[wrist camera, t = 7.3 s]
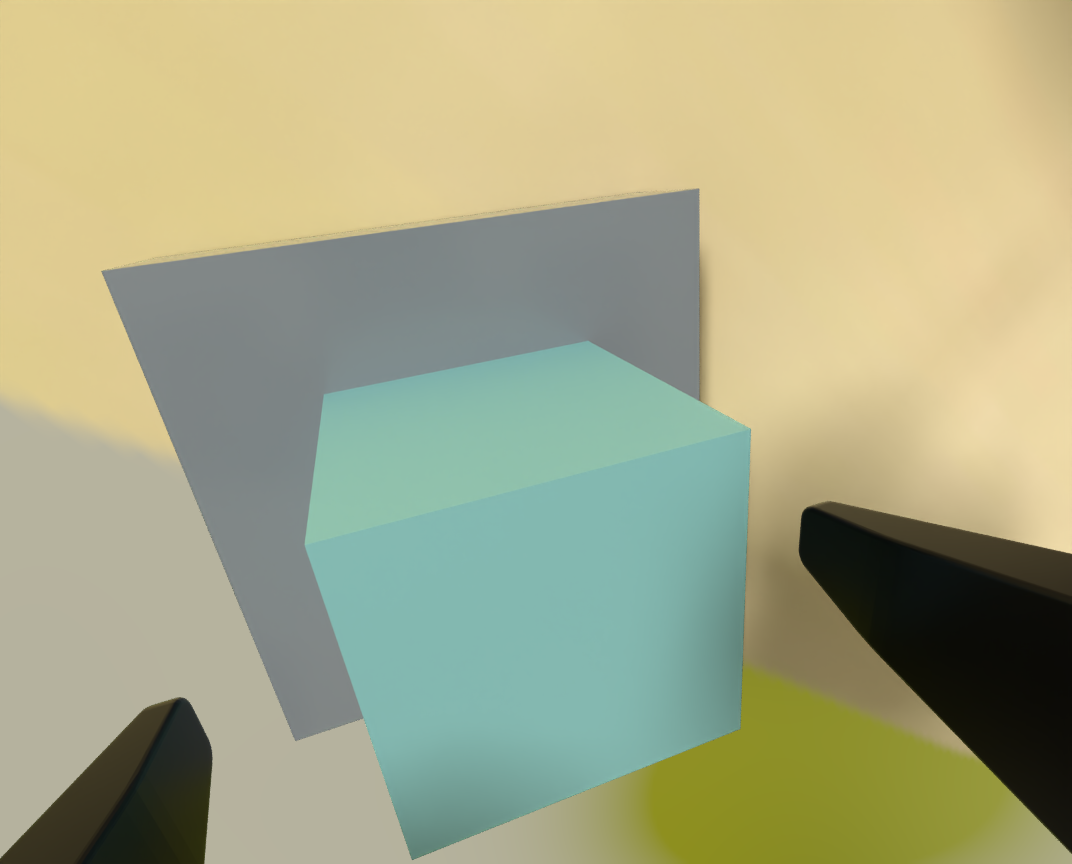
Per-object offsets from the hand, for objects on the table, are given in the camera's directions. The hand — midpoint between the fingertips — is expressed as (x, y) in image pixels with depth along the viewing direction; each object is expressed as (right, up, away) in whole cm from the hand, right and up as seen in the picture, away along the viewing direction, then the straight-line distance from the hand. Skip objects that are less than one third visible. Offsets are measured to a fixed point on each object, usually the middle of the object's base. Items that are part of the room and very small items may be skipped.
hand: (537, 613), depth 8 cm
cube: (-1, +2, +3) cm, 4 cm away
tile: (-2, +2, +6) cm, 6 cm away
